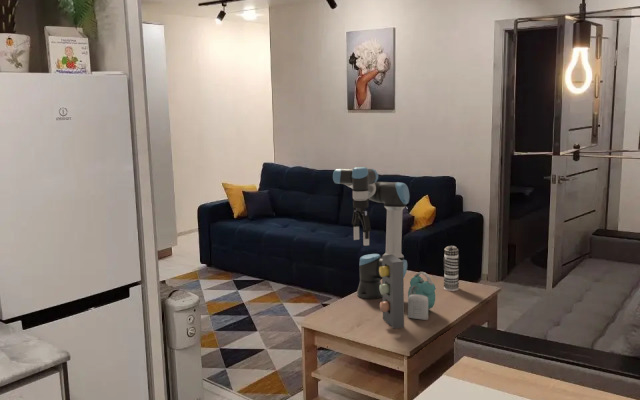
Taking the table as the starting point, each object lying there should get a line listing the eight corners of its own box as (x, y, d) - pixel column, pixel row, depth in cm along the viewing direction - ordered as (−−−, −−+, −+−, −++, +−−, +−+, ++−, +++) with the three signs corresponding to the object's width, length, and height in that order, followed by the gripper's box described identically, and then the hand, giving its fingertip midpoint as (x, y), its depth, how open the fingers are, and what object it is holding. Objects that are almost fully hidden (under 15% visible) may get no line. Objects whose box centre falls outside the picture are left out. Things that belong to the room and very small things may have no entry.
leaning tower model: (462, 288, 347) (463, 246, 343) (451, 292, 342) (451, 249, 338) (451, 285, 355) (451, 244, 351) (440, 288, 350) (439, 246, 346)
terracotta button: (387, 309, 299) (387, 299, 298) (391, 312, 294) (391, 302, 294) (379, 310, 298) (379, 300, 297) (383, 313, 293) (383, 303, 293)
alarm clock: (405, 306, 322) (404, 270, 319) (420, 303, 326) (420, 267, 322) (423, 316, 306) (422, 278, 303) (438, 313, 310) (438, 275, 307)
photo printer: (429, 317, 304) (429, 294, 302) (427, 320, 300) (427, 296, 298) (409, 315, 308) (408, 292, 306) (407, 318, 304) (406, 295, 302)
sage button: (387, 291, 298) (386, 282, 297) (390, 294, 293) (390, 285, 292) (379, 292, 297) (379, 283, 296) (383, 295, 292) (383, 285, 291)
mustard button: (386, 274, 296) (386, 264, 295) (390, 277, 292) (390, 267, 291) (379, 275, 295) (378, 265, 294) (382, 277, 290) (382, 267, 290)
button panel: (393, 317, 306) (392, 254, 300) (404, 327, 292) (403, 261, 287) (382, 318, 304) (381, 255, 299) (393, 328, 291) (392, 262, 286)
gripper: (377, 202, 279) (378, 247, 282) (358, 195, 303) (359, 236, 306) (362, 203, 277) (363, 248, 280) (344, 196, 301) (345, 238, 304)
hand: (361, 242), depth 293 cm, fingers open, 13 cm apart
